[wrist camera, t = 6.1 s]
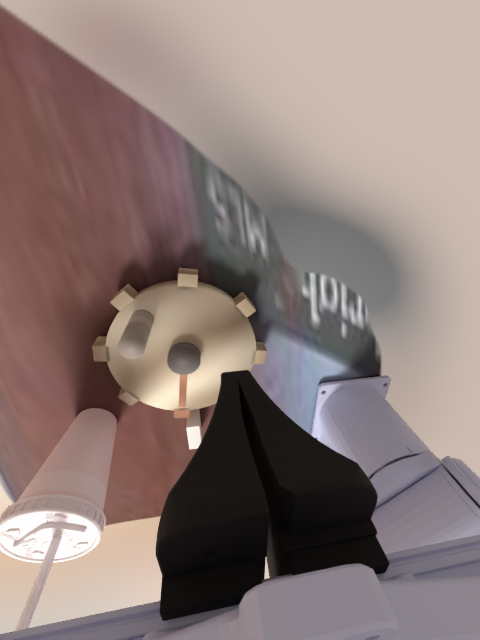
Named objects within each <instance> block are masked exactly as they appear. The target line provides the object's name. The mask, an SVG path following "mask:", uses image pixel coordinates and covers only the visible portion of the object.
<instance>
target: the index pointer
mask: <svg viewBox="0 0 480 640" xmlns="http://www.w3.org/2000/svg"><path fill="white" fill-rule="evenodd" d="M186 429H187V436H188V442H189V449H197V448H198V447H199V445H200V443H201V441H202V432H201V420H200V411H199V409H194V410H190V413H189V418H187V423H186Z"/></svg>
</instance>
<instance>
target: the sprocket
mask: <svg viewBox="0 0 480 640" xmlns="http://www.w3.org/2000/svg"><path fill="white" fill-rule="evenodd" d="M110 303H111V304H112V305H113V306H114V307H115V308H117V309H118V310H119V312H118V314H117V315H116V317H115V319H114V321H113V322H112V324H111V326H110V328H109V331H108V334H107V337H106V336H98V337H97V339H96V341H95V342H94V344H93V345H92V350H93V358H94V361H102V362H107V363H108V366H109V369H110V371H111V373H112V375H113V377H114V378H115V380H116V381H117V382H118V384H119V385H120V386H121V387H122V388H121V391H120V393H119V396H118V398H119V399H121V400H122V401H124V402H125V403H127V404H128V405H130V406H132V405H133V404H134V403H136V402H137V401H138V400H139V401H141V402H143V403H145V404H148V405H151V406H154V407H157V408H161V409H166V410H174V418H189V413H190V410H194V409H200V408H204V407H208V406H210V405H213V404H216V403H217V399H218V395H219V391H220V385H221V374H222V373H223V372H232V371H242V370H248V371H250V372H251V370H252V367H253V365H254V364H264V362H265V357H266V352H267V350H266V348H265V346H264V343H263V342H256V340H255V335H254V332H253V329H252V327H251V324H250V322H249V319H248V317H249V316H250V315H251V314H253V313H254V312H255V311H256V310H255V307H254V305H253V303H252V302H251V301H250V300H249V299H248V297H247V296H246V295H245V294H244V293H243V291H242V292H241V293H240V294H239V295H237V296H236V297H235V298H232V297H231V296H230V295H228V294H227V293H226V292H224V291H222V290H220V289H219V288H217V287H214V286H212V285H209V284H206V283H202V282H199V281H198V269H188V268H179V271H178V280H171V281H165V282H161V283H157V284H154V285H152V286H149V287H147V288H145V289H143V290H141V291H139V292H137V291H136V290H135V289H134V288H133V287H132V286H130V285H129V284H127V285H126V286H125V287H124V288H122V289H121V290H120V291H119V292H118V293H117V294H116V295H115V296H114V297H113V299H112V300H111V301H110Z"/></svg>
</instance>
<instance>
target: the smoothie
mask: <svg viewBox="0 0 480 640" xmlns="http://www.w3.org/2000/svg"><path fill="white" fill-rule="evenodd" d="M116 427H117V420H116V418H115V416H114V415H113V414H112V413H111V412H109V411H107V410H104V409H100V408H90V409H86V410H84V411H82V412H80V413H79V414H78V416H77V417H76V418H75V420H74V421H73V423H72V424H71V425H70V427H69V428H68V430H67V431H66V433H65V434H64V435H63V437H62V438H61V440H60V441H59V442H58V444H57V445H56V447H55V448H54V450H53V451H52V452H51V454H50V455H49V457H48V458H47V459H46V461H45V462H44V464H43V465H42V467H41V468H40V469H39V471H38V472H37V474H36V475H35V477H34V478H33V479H32V481H31V482H30V483H29V485H28V486H27V488H26V489H25V491H24V492H23V493H22V495H21V496H20V498H19V499H18V501H17V502H15V503H14V504H12V505H10V506H9V507H8V508H7V509H6V510H5V511H4V512H3V513H2V515H1V518H0V551H2V552H3V553H5V554H6V555H8V556H10V557H13V558H16V559H19V560H22V561H28V562H35V563H42V565H41V567H40V570H39V572H38V575H37V577H36V580H35V582H34V585H33V587H32V590H31V592H30V595H29V597H28V600H27V602H26V605H25V607H24V610H23V612H22V615H21V617H20V620H19V622H18V625H17V628H16V630H15V631H19V630H24V629H28V627H29V625H30V622H31V619H32V617H33V614H34V611H35V609H36V606H37V603H38V601H39V598H40V595H41V592H42V590H43V587H44V585H45V582H46V579H47V576H48V574H49V571H50V568H51V566H52V563H54V562H62V561H66V560H71V559H74V558H78V557H80V556H82V555H85V554H86V553H88V552H90V551H91V550H92V549H94V548H95V547H96V546H97V545H98V543H99V542H100V539H101V536H102V532H103V529H104V527H105V524H106V517H105V515H104V513H103V509H104V503H105V497H106V490H107V484H108V477H109V471H110V465H111V459H112V452H113V446H114V440H115V433H116Z"/></svg>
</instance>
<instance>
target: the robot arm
mask: <svg viewBox="0 0 480 640" xmlns="http://www.w3.org/2000/svg"><path fill="white" fill-rule="evenodd" d="M390 380H391V379H390V378H389V377H388V376H378V377H370V378H361V379H352V380H344V381H335V382H327V383H321V384H320V385H319V386H318V392H317V399H316V405H315V412H314V418H313V425H312V431H311V435H310V434H309V433H307V432H306V431H304V430H303V429H302V428H301V427H299V426H298V425H297V424H296V423H295V422H293V421H292V420H291V419H290V418H289V417H288V416H287V415H286V414H285V413H284V412H283V411H281V409H280V408H279V407H278V406H277V405H276V404H275V403H274V402H273V401H272V400H271V399H270V398H269V397H268V395H267V394H266V393H265V392H264V391H263V389H262V388H261V387H260V386H259V384H258V383H257V382H256V380H255V379H254V377H253V376H252V374H251V373H250V371H248V370H242V371H232V372H223V373H222V374H221V385H220V391H219V395H218V399H217V403H216V407H215V410H214V413H213V416H212V418H211V421H210V424H209V426H208V428H207V431H206V433H205V435H204V437H203V439H202V441H201V443H200V445H199V447H198V449H197V451H196V453H195V454H194V456H193V458H192V459H191V461H190V463H189V464H188V466H187V468H186V469H185V471H184V472H183V474H182V475H181V477H180V478H179V480H178V481H177V482H176V484H175V485H174V487H173V488H172V489H171V491H170V492H169V494H168V497H167V500H166V503H165V505H164V508H163V512H162V515H161V519H160V523H159V527H158V533H157V542H156V557H157V560H158V563H159V566H160V569H161V572H162V588H161V600H160V601H158V602H153V603H148V604H144V605H139V606H134V607H129V608H125V609H120V610H115V611H110V612H105V613H100V614H96V615H91V616H86V617H81V618H76V619H72V620H67V621H62V622H57V623H52V624H48V625H43V626H38V627H34V628H28V629H24V630H19V631H14V632H9V633H5V634H0V640H480V478H479V477H478V476H477V475H476V474H475V473H474V472H473V471H472V470H471V469H470V468H469V467H468V466H467V465H466V464H465V463H464V462H463V461H461V460H459V459H455V458H453V459H452V458H451V457H449V456H446V457H445V458H443V459H442V461H441V460H440V459H439V458H437V457H436V456H435V455H434V454H433V453H432V452H431V451H430V449H429V448H428V447H427V446H426V445H425V444H424V443H423V442H422V440H421V439H420V438H419V437H418V436H417V435H416V434H415V433H414V432H413V430H412V429H411V428H410V427H409V426H408V425H407V423H406V422H405V421H404V420H403V419H402V418H401V417H400V416H399V414H398V413H397V412H396V411H395V410H394V409H393V408H392V407H391V405H390V404H389V403H388V402H387V401H386V400H385V397H386V394H387V390H388V387H389V384H390ZM322 391H323V392H322ZM265 557H267V563H268V569H269V576H270V578H268V579H264V573H265Z"/></svg>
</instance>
